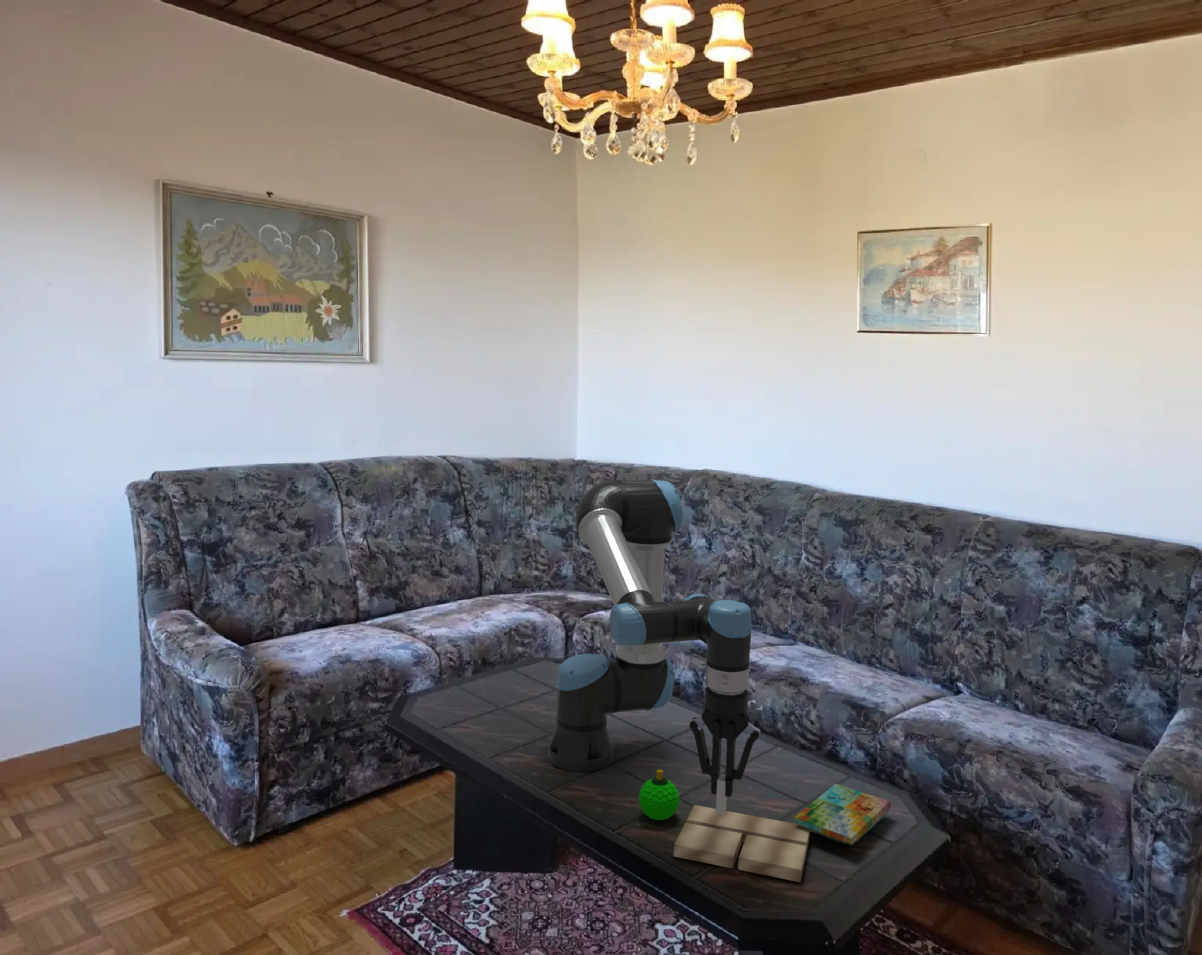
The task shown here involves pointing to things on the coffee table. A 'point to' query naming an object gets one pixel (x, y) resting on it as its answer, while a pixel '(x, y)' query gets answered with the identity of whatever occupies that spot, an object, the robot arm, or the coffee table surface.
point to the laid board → (750, 825)
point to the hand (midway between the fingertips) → (720, 810)
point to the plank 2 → (772, 858)
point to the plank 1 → (708, 845)
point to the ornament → (659, 797)
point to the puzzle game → (843, 814)
